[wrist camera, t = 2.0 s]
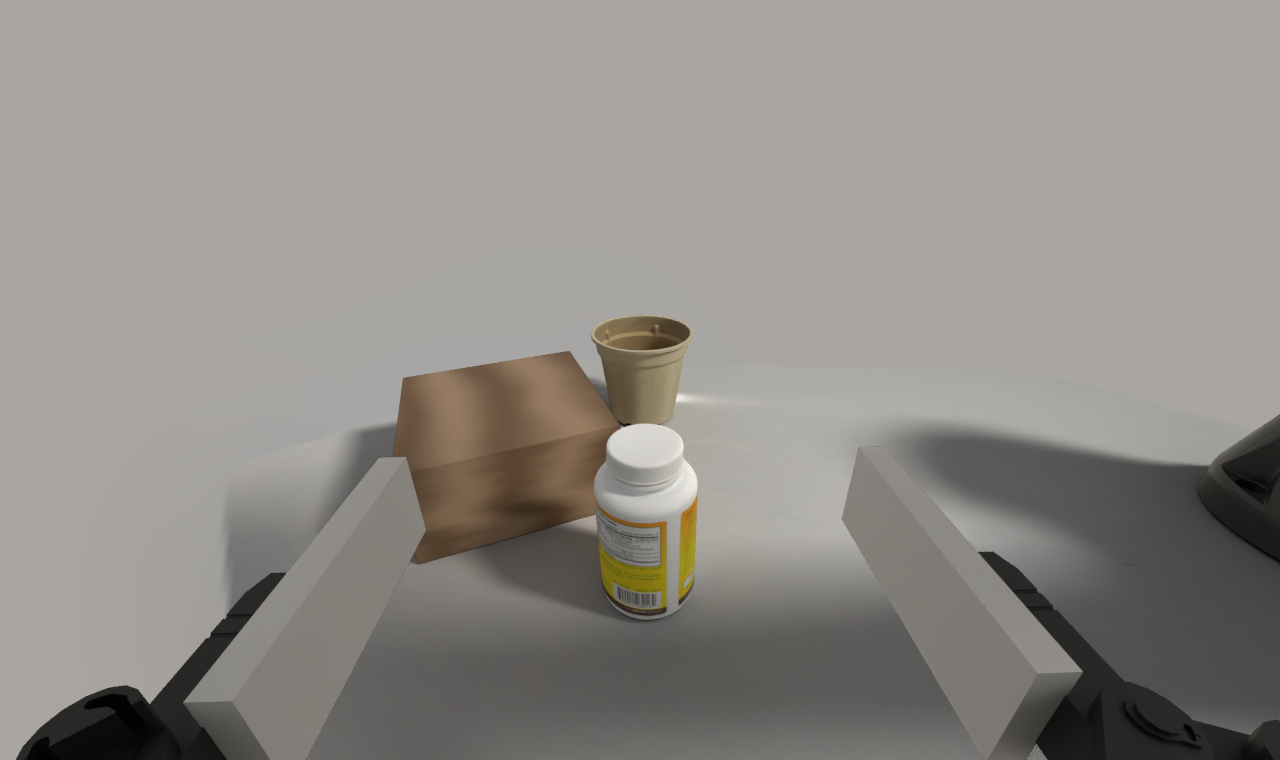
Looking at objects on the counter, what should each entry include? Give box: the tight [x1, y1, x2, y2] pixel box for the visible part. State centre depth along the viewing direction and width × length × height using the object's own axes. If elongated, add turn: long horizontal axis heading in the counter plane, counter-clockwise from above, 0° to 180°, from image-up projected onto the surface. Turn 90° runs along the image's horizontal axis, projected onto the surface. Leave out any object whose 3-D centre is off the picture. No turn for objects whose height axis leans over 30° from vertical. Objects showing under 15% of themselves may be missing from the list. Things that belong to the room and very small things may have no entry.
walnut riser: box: [393, 351, 620, 564], centre depth 37 cm, size 14×14×7 cm
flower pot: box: [591, 315, 694, 425], centre depth 45 cm, size 9×9×9 cm
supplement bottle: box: [594, 424, 698, 620], centre depth 26 cm, size 6×6×10 cm
